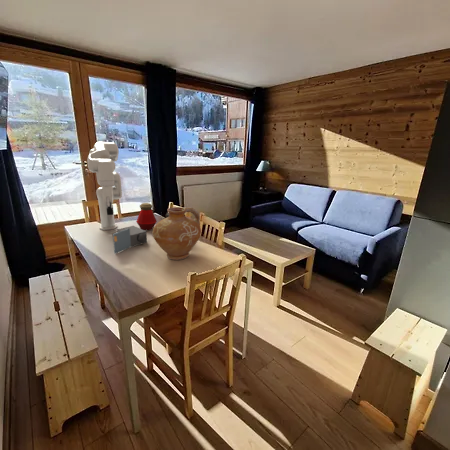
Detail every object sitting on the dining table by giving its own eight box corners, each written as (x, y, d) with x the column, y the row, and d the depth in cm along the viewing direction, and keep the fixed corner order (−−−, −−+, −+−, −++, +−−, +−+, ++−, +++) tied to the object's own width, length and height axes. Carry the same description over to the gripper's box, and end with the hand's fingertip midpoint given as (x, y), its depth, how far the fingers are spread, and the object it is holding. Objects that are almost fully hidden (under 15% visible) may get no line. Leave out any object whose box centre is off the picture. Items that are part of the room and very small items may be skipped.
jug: (150, 249, 159) (148, 203, 150) (193, 244, 170) (193, 201, 161) (157, 269, 135) (155, 216, 125) (207, 262, 146) (208, 212, 136)
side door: (116, 254, 150) (114, 234, 146) (114, 253, 150) (112, 234, 146) (131, 247, 160) (130, 228, 156) (130, 246, 161) (128, 228, 157)
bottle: (133, 229, 192) (131, 204, 186) (143, 224, 205) (141, 200, 198) (151, 232, 188) (149, 206, 182) (160, 227, 201) (159, 203, 194)
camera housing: (118, 240, 171) (117, 229, 168) (134, 236, 180) (133, 225, 177) (132, 248, 160) (131, 236, 157) (149, 243, 169) (148, 232, 166)
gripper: (101, 181, 145) (104, 211, 151) (98, 185, 132) (102, 218, 138) (115, 181, 148) (117, 210, 154) (113, 185, 135) (116, 217, 141)
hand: (110, 214), depth 146 cm, fingers closed
